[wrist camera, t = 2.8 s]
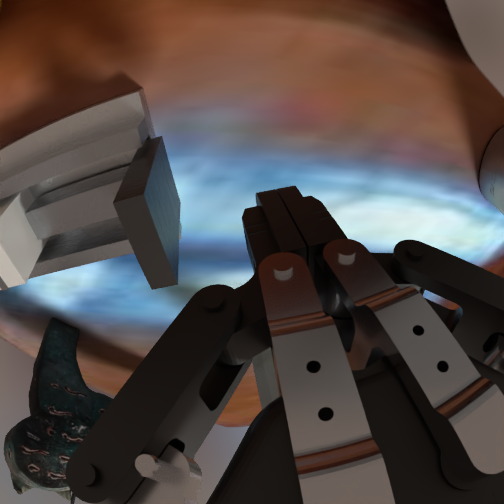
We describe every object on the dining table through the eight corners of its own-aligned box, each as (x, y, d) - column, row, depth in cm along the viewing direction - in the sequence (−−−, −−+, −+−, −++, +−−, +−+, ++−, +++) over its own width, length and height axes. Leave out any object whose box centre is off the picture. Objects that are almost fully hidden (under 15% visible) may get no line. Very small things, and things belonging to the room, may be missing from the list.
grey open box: (143, 88, 15) (116, 110, 10) (181, 226, 21) (181, 292, 16) (-60, 188, 14) (-102, 234, 9) (-10, 276, 20) (-36, 330, 15)
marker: (27, 183, 15) (-10, 228, 11) (51, 233, 18) (25, 285, 14) (-10, 201, 15) (-46, 245, 11) (14, 246, 17) (-13, 294, 14)
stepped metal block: (161, 135, 15) (143, 194, 10) (180, 203, 18) (178, 284, 13) (29, 181, 15) (-25, 250, 9) (56, 236, 18) (21, 314, 12)
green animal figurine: (29, 329, 25) (0, 506, 10) (43, 297, 23) (3, 512, 8) (174, 388, 36) (189, 534, 21) (204, 369, 34) (228, 534, 18)
